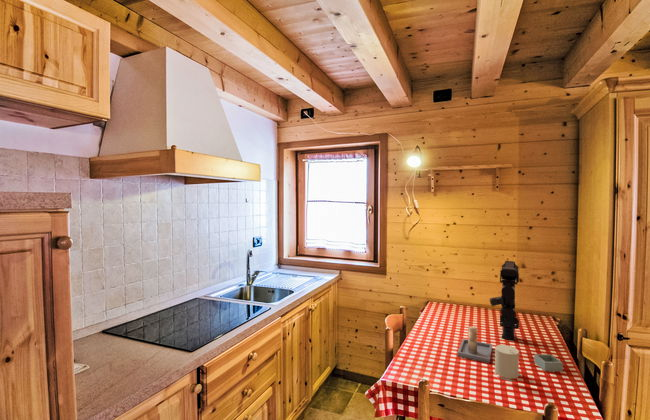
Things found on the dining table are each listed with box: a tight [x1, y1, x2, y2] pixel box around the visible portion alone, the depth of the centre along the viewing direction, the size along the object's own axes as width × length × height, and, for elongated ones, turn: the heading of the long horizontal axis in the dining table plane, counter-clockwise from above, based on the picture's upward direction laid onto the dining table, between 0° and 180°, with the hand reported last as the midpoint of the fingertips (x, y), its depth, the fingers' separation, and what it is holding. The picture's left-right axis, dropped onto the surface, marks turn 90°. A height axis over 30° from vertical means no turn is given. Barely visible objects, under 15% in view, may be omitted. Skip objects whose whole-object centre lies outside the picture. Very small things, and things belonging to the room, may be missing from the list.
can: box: [494, 344, 520, 382], centre depth 143 cm, size 9×9×12 cm
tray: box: [457, 338, 493, 364], centre depth 165 cm, size 18×14×2 cm
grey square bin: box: [533, 353, 564, 372], centre depth 148 cm, size 8×8×5 cm
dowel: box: [467, 326, 478, 354], centre depth 164 cm, size 4×4×12 cm
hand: (507, 323), depth 168 cm, fingers open, 9 cm apart
